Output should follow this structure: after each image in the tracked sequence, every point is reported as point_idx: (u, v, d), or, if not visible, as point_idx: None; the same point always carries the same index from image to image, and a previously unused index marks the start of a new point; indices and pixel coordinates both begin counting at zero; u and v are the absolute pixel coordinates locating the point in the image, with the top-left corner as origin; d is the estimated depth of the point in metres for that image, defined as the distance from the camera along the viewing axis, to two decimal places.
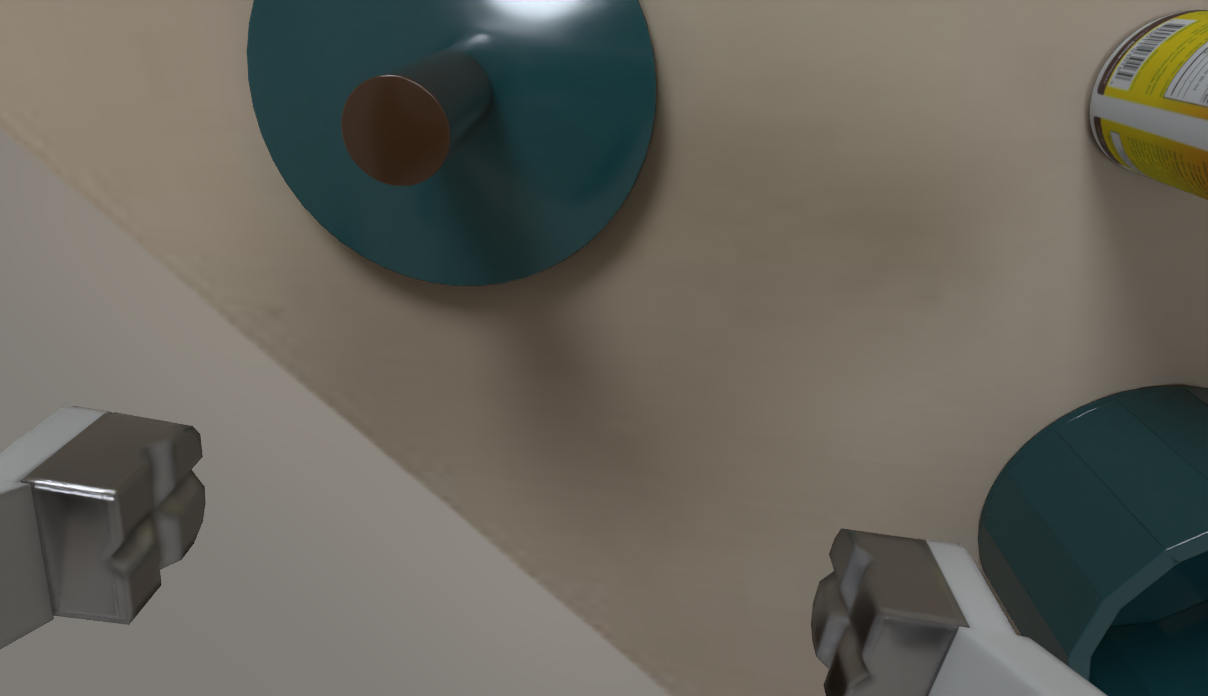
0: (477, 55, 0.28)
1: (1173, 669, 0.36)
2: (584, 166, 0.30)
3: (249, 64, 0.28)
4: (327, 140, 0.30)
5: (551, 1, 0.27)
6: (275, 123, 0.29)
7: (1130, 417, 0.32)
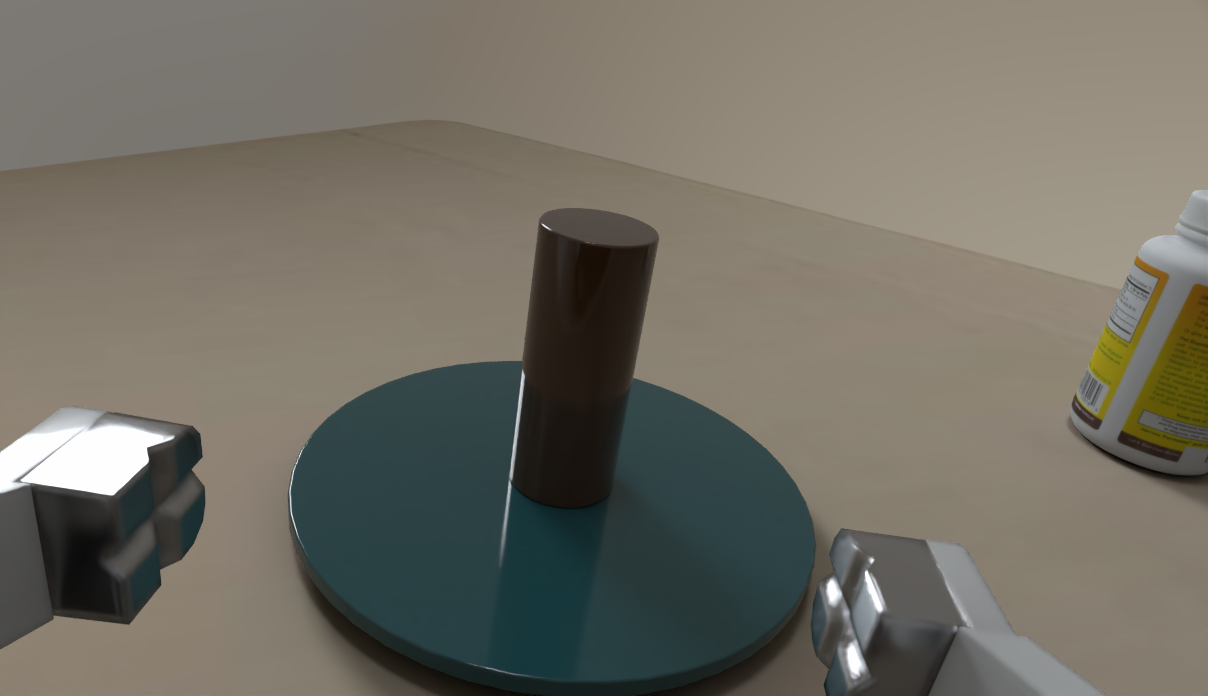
0: None
1: None
2: (746, 513, 0.23)
3: (293, 480, 0.21)
4: (402, 531, 0.20)
5: (635, 415, 0.27)
6: (322, 524, 0.20)
7: None
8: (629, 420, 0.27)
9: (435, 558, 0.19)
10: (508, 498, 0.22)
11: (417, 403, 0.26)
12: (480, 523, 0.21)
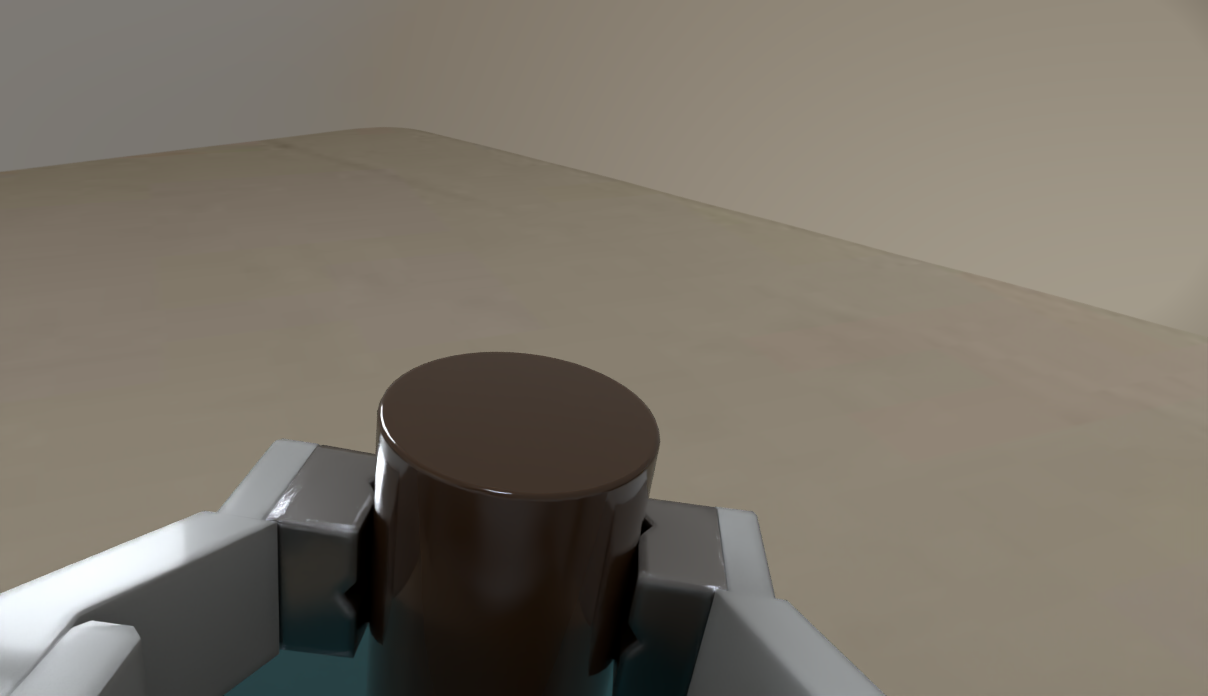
0: None
1: None
2: None
3: None
4: None
5: None
6: None
7: None
8: None
9: None
10: None
11: None
12: None
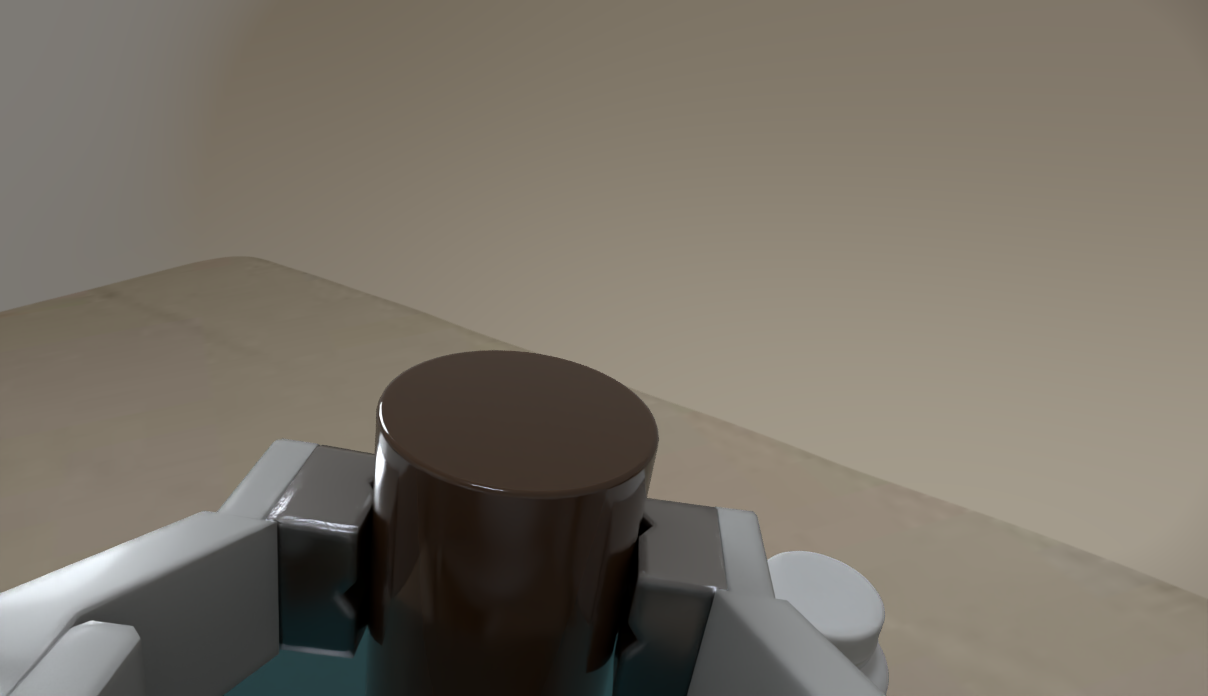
0: None
1: None
2: None
3: None
4: None
5: None
6: None
7: None
8: None
9: None
10: None
11: None
12: None
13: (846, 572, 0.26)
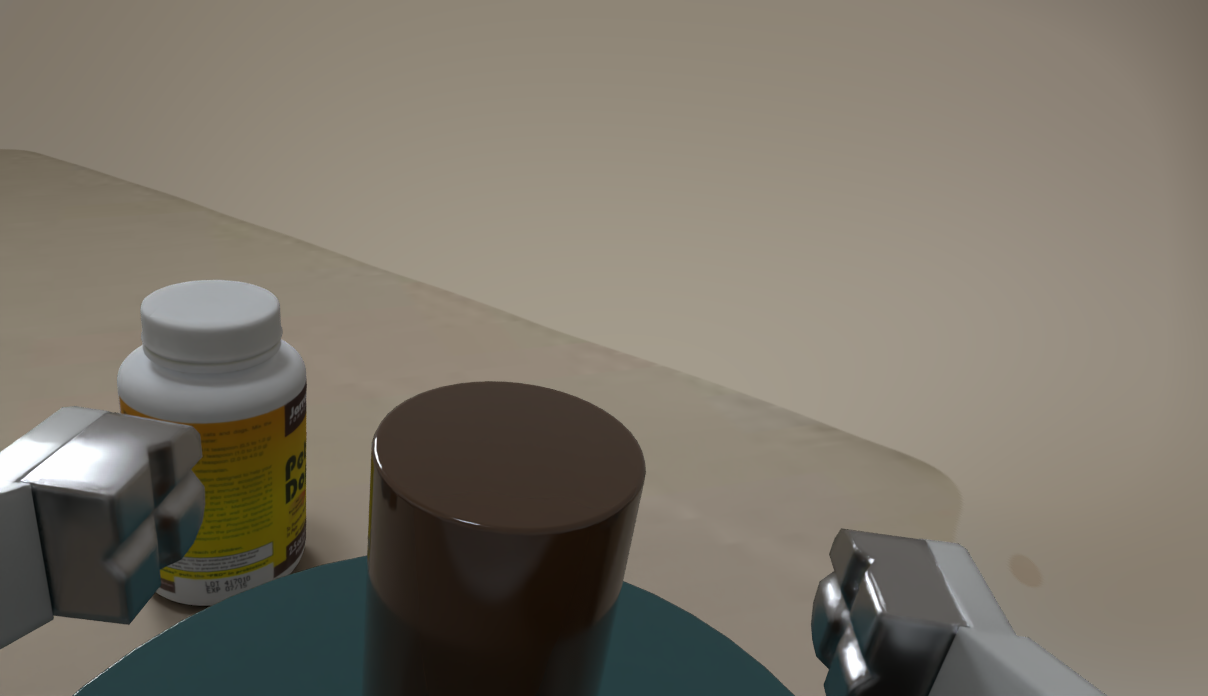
0: None
1: None
2: None
3: None
4: None
5: (608, 668, 0.16)
6: None
7: None
8: None
9: None
10: None
11: (221, 673, 0.14)
12: None
13: (259, 294, 0.26)
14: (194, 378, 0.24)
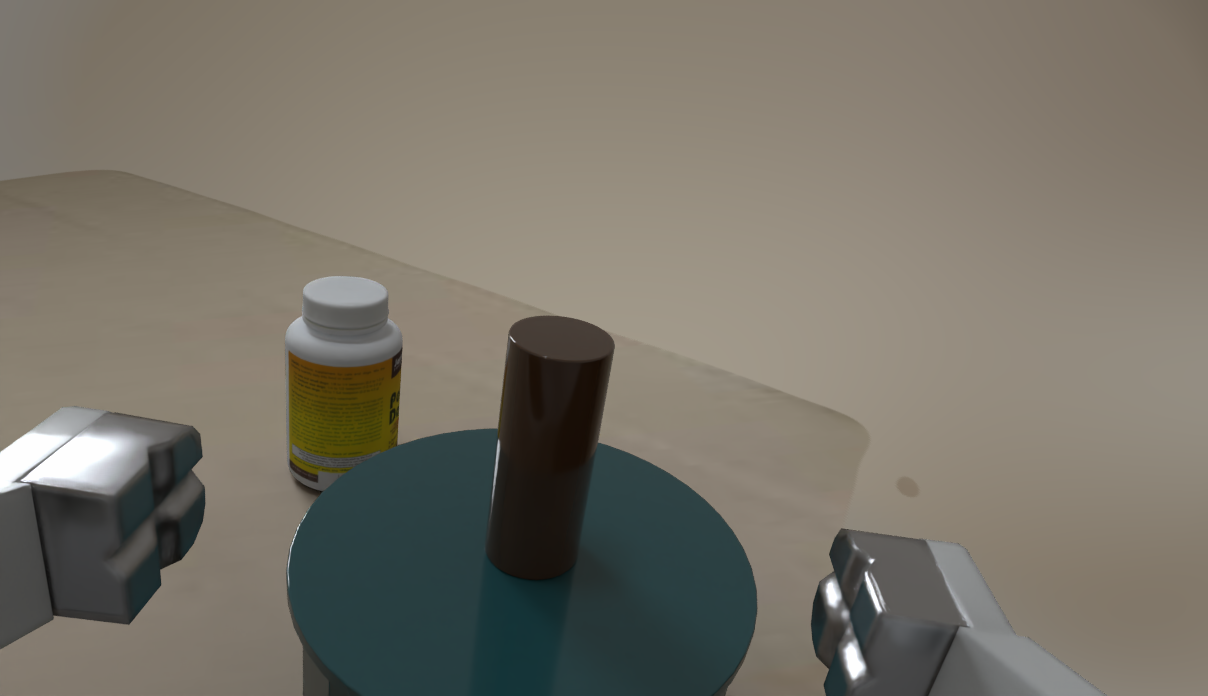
0: None
1: None
2: (696, 581, 0.25)
3: (290, 557, 0.24)
4: (387, 607, 0.23)
5: (602, 482, 0.30)
6: (316, 602, 0.22)
7: None
8: (596, 488, 0.29)
9: (416, 632, 0.22)
10: (483, 571, 0.24)
11: (403, 475, 0.28)
12: (457, 597, 0.23)
13: (374, 285, 0.40)
14: (337, 338, 0.38)
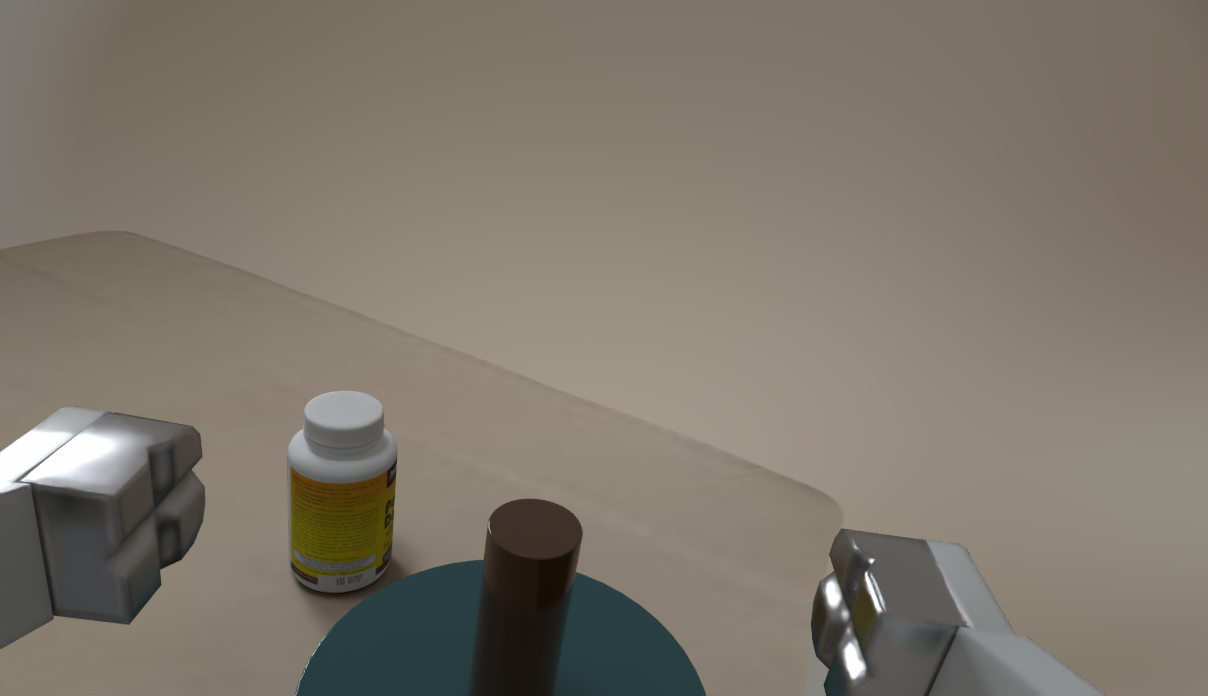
0: None
1: None
2: None
3: None
4: None
5: (577, 619, 0.32)
6: None
7: None
8: (572, 626, 0.32)
9: None
10: None
11: (395, 618, 0.31)
12: None
13: (370, 401, 0.43)
14: (336, 456, 0.41)
